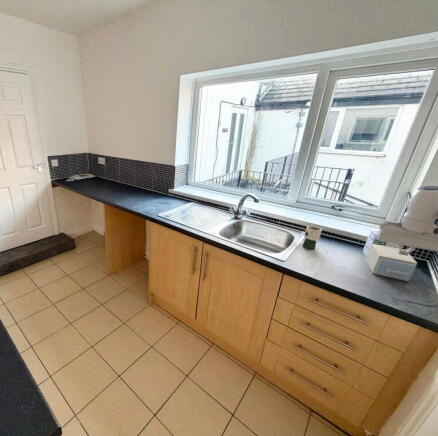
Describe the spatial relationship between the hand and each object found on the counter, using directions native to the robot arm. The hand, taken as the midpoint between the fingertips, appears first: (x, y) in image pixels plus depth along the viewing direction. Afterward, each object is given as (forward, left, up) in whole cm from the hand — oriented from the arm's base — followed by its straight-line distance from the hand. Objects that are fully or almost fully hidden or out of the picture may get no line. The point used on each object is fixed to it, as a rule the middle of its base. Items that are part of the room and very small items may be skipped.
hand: (402, 254), depth 105 cm
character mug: (+32, -17, -13) cm, 38 cm away
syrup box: (+3, -24, -13) cm, 27 cm away
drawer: (0, -6, -12) cm, 14 cm away
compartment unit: (0, -10, -13) cm, 16 cm away
